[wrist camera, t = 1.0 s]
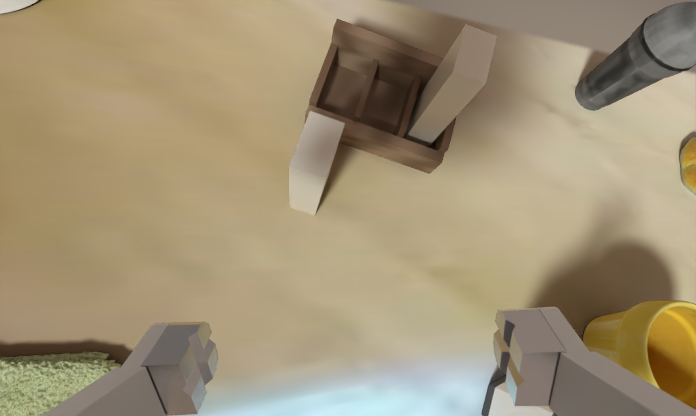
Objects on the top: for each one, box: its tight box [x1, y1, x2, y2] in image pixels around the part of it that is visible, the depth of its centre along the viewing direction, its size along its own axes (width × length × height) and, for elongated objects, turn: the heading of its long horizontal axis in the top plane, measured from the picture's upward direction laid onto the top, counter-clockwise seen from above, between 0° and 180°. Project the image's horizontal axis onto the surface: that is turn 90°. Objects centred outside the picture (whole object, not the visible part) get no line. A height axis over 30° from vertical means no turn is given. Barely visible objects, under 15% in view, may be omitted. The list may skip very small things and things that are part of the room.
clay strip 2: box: [405, 24, 497, 147], centre depth 39 cm, size 3×5×14 cm, turn 163°
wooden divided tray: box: [305, 19, 457, 174], centre depth 43 cm, size 16×10×8 cm, turn 73°
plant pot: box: [583, 300, 696, 410], centre depth 40 cm, size 10×10×10 cm
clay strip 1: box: [289, 111, 345, 215], centre depth 37 cm, size 3×5×14 cm, turn 163°
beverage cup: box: [575, 2, 696, 110], centre depth 43 cm, size 7×7×20 cm
